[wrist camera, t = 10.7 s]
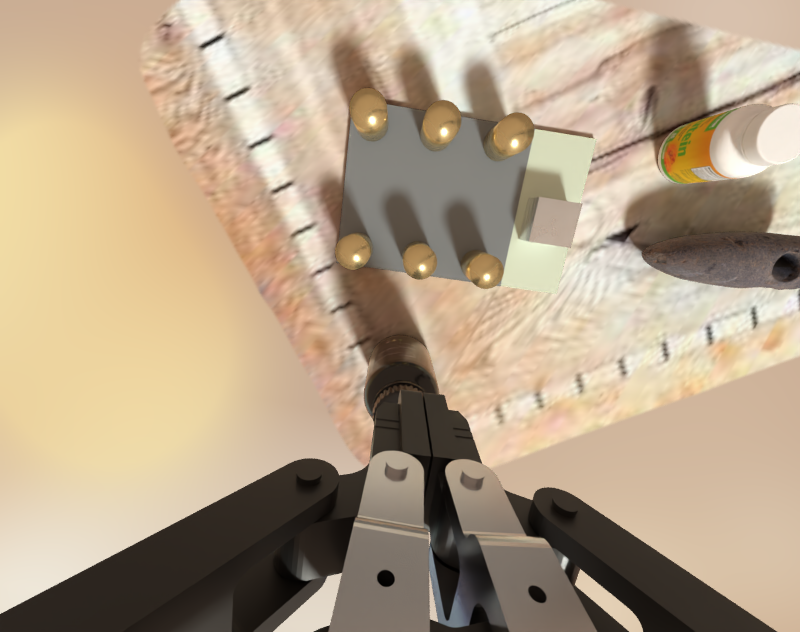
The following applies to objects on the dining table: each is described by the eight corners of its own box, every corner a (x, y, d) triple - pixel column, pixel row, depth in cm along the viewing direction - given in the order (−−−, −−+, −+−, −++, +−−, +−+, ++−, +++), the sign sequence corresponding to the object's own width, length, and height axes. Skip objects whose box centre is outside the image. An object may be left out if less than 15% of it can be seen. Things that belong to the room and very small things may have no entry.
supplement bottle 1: (436, 383, 42) (451, 448, 30) (377, 395, 42) (370, 463, 31) (424, 326, 40) (436, 372, 29) (363, 339, 40) (349, 389, 29)
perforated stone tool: (621, 274, 39) (668, 286, 32) (634, 222, 38) (686, 224, 31) (760, 285, 39) (835, 300, 33) (777, 234, 38) (859, 239, 31)
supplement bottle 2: (677, 113, 35) (780, 76, 26) (724, 139, 36) (841, 113, 26) (644, 169, 36) (731, 154, 27) (690, 193, 37) (790, 186, 27)
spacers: (518, 129, 35) (538, 115, 30) (486, 281, 38) (499, 290, 33) (357, 103, 34) (351, 84, 29) (341, 260, 38) (333, 267, 33)
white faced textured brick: (567, 204, 36) (582, 203, 34) (557, 245, 37) (570, 247, 35) (528, 198, 36) (539, 196, 33) (518, 239, 37) (528, 241, 34)
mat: (594, 140, 35) (597, 138, 35) (554, 293, 39) (556, 294, 39) (353, 100, 34) (352, 98, 34) (337, 262, 38) (336, 262, 38)
